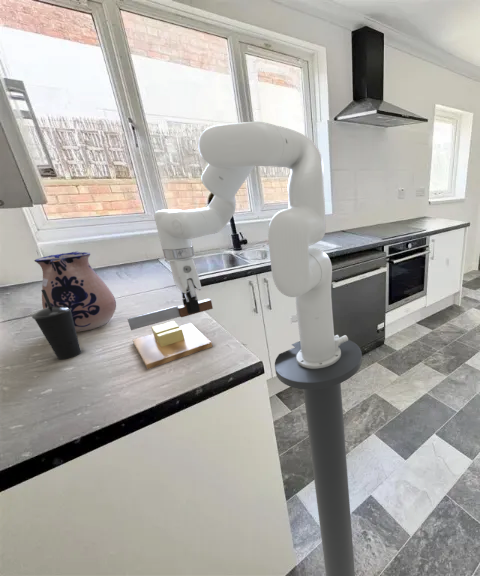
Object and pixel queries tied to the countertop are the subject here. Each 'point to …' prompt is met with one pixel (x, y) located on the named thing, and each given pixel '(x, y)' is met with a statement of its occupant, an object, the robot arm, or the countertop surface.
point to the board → (171, 347)
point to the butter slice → (170, 337)
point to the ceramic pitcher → (77, 289)
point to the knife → (166, 315)
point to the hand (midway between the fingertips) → (192, 310)
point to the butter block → (163, 328)
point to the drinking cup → (58, 329)
